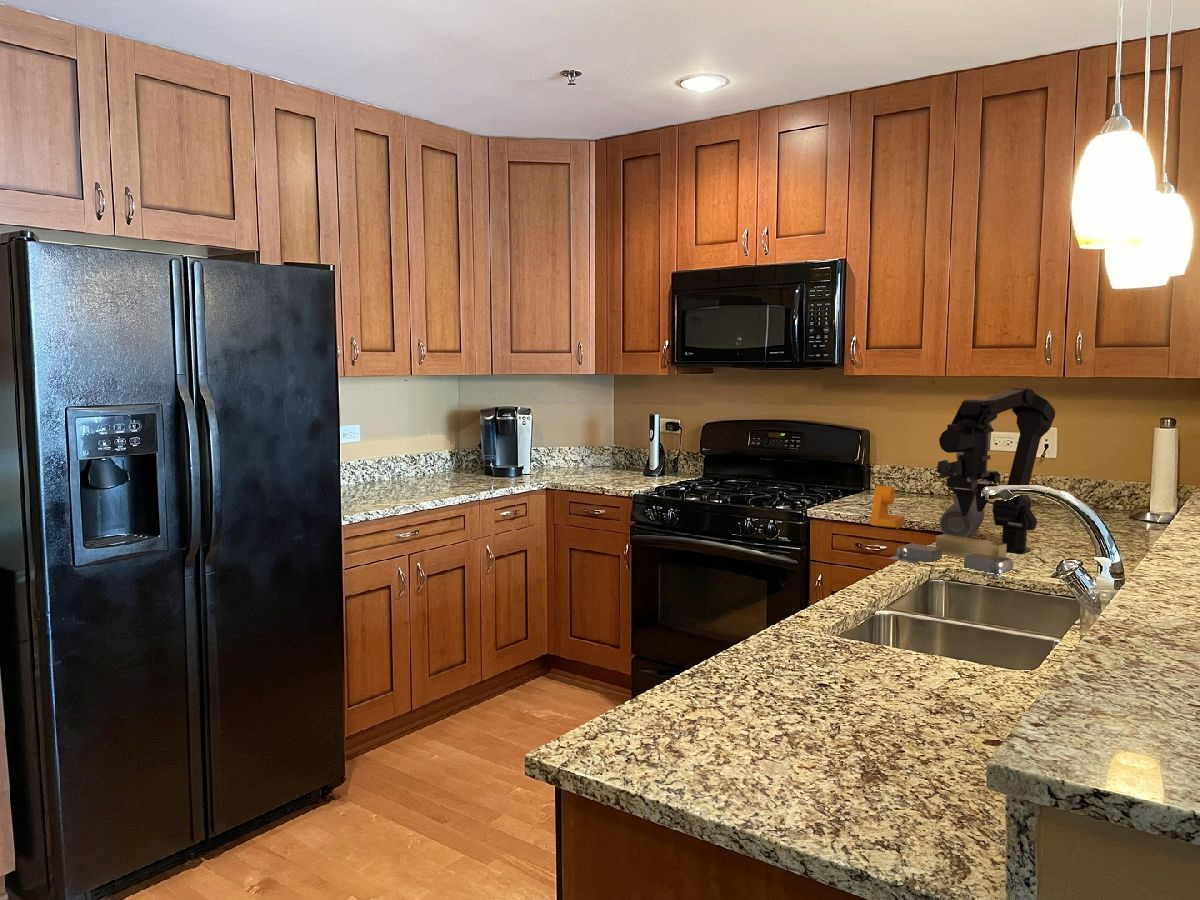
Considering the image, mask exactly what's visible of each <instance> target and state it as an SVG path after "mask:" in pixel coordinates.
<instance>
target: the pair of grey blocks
mask: <svg viewBox="0 0 1200 900" xmlns="http://www.w3.org/2000/svg"><path fill="white" fill-rule="evenodd" d="M895 554H896V555H893V556H890V557H888V559H889V560H896V561H902V560H904V561H902V562H907V563H912V562H913V564H918V563H917V562H918V561H922V562H934V561H937V560H940V559H942V558H943V556H942V548H939V547H936V546H931V545H925V544H919V543H908V544H904V545H900V546H898V547H897V548H896V550H895ZM963 561H964V568H970V569H975V570H978V571H984V572H989V573H994V574H987V573H977V574H979V575H983V576H991V577H996V578H1003V579H1006V578H1007V577H1004V576H999V575H1000V574H1002V573H1005V572H1007V571H1010V570H1013V571H1018V573H1020V572H1021V570H1019V569H1013V568H1014V566H1015V565H1014V564H1015V563H1014V562H1013V560H1012V559H1011V558H1010V557H1009V558H1008V557H1006V558H1004V557H997V556H991V555H984V554H978V553H974V554H971V555H968V556H965V558H964V559H963ZM1019 571H1020V572H1019ZM961 572H964V571H963V570H962V571H961ZM973 574H975V573H974V572H973ZM997 574H999V575H997Z"/></svg>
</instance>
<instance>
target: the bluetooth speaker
mask: <svg viewBox="0 0 1200 900" xmlns="http://www.w3.org/2000/svg"><path fill="white" fill-rule="evenodd" d="M984 510H985V509H983V511H982V512H978V511H977V505H976V501H974V500H973V502H972V505H971V508H970V510H969V513H968V515H967V516H962V513H961V509H960V506H959V502H957V503H955V504H952V505H950V506H949V507H948V508H947V509H946V510H945V511H944V512H943V513H942V514H941V515H942V516H941V517H940V520H939V528H940V531H941V532H942V534H947V535H953V536H960V537H966V538H970V537H971V536H972V535H973V534H975V533H976V532H977V531H978V529H980V527H981V525H982V523H983V521H984V517H985V511H984Z"/></svg>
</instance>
